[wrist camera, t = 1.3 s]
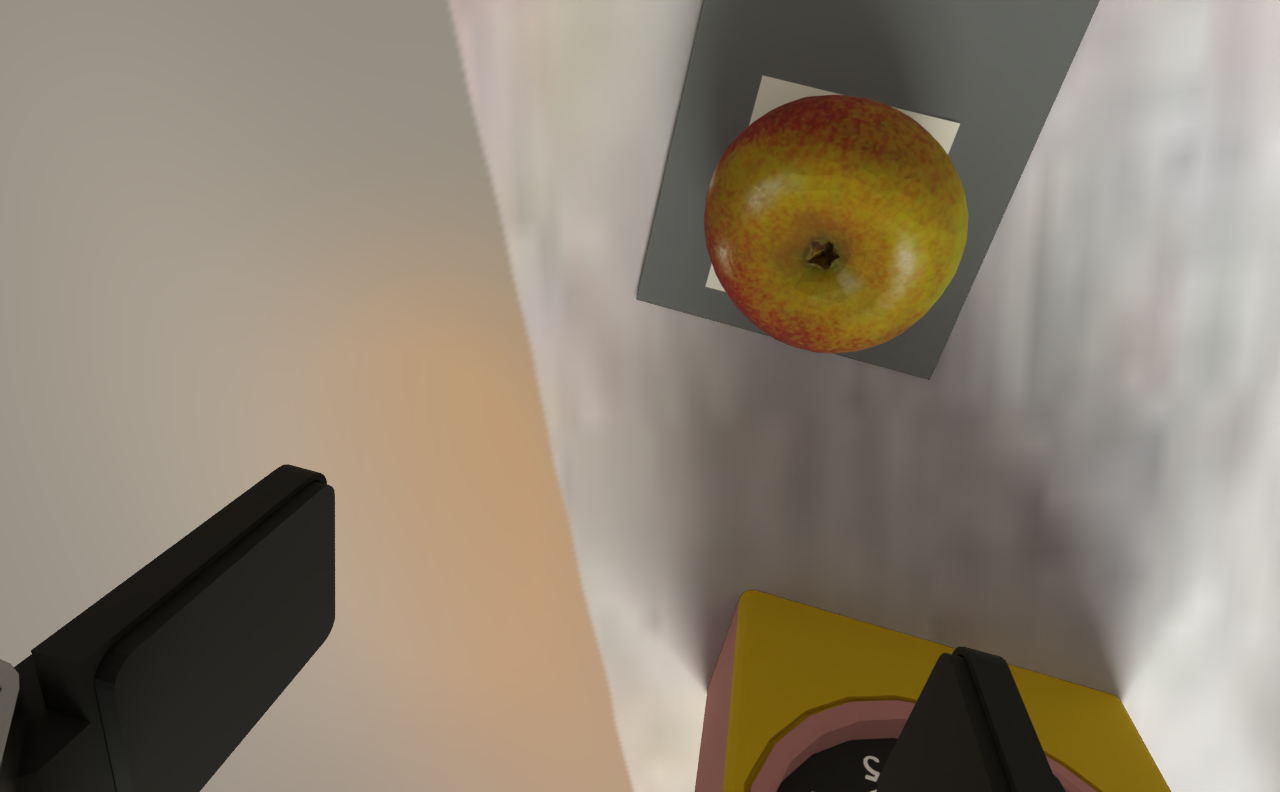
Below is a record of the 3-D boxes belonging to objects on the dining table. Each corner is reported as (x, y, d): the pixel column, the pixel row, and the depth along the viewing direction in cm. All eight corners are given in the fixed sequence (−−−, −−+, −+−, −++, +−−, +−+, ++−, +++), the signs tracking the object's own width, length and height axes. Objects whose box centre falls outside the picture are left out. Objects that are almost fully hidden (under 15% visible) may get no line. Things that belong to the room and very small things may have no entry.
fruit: (670, 231, 31) (637, 274, 24) (802, 42, 27) (808, 24, 20) (840, 355, 32) (857, 433, 24) (991, 188, 28) (1065, 222, 20)
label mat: (814, -480, 22) (814, -491, 21) (1274, -398, 20) (1284, -408, 20) (637, 297, 33) (635, 300, 32) (928, 377, 32) (929, 381, 31)
